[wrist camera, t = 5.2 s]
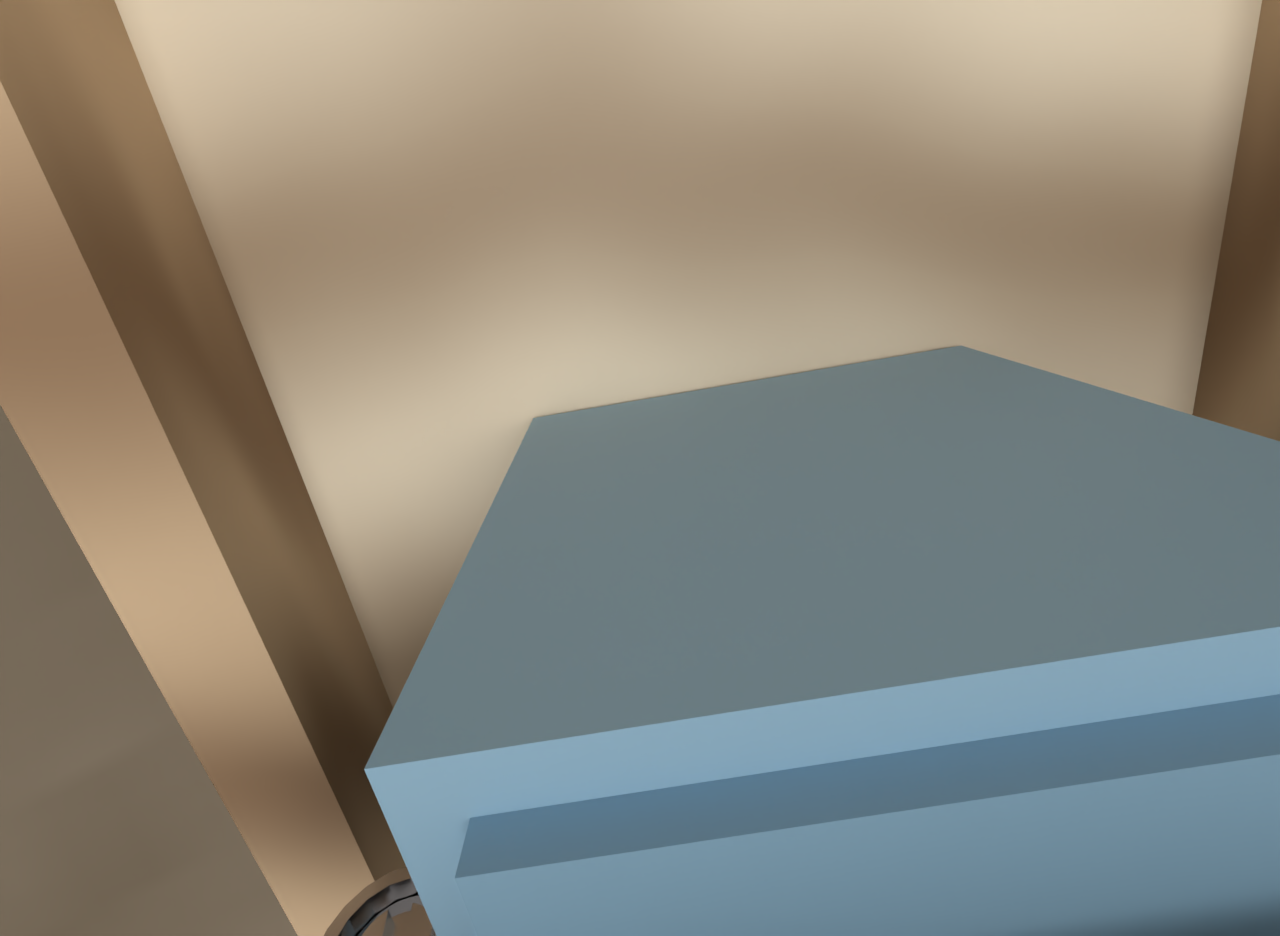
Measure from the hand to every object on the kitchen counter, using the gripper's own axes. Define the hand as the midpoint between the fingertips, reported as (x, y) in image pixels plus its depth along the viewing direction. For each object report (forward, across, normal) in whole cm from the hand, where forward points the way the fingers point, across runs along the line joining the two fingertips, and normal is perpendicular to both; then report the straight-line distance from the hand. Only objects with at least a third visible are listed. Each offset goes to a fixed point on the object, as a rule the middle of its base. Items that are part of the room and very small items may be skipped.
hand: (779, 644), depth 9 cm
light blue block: (+1, 0, 0) cm, 1 cm away
